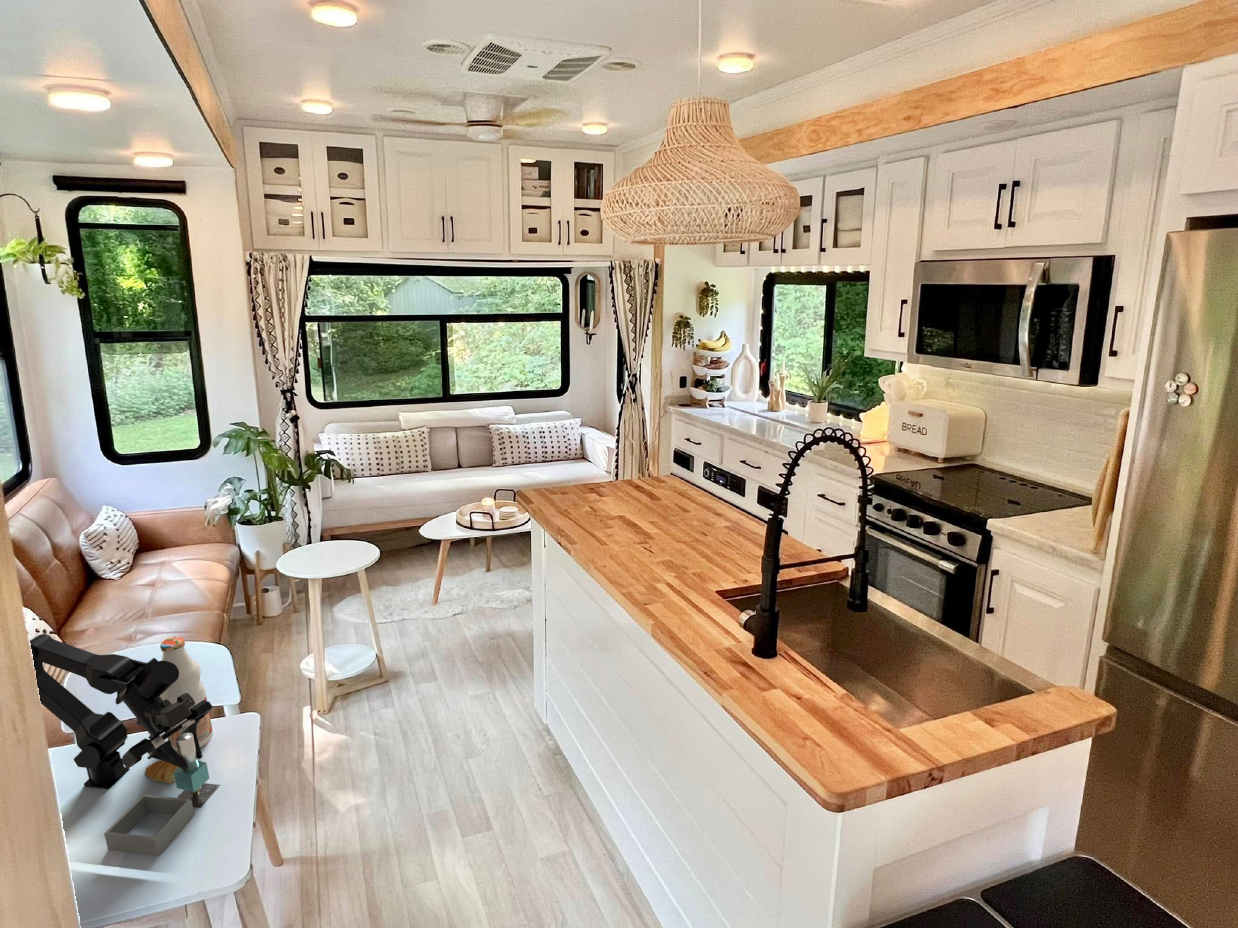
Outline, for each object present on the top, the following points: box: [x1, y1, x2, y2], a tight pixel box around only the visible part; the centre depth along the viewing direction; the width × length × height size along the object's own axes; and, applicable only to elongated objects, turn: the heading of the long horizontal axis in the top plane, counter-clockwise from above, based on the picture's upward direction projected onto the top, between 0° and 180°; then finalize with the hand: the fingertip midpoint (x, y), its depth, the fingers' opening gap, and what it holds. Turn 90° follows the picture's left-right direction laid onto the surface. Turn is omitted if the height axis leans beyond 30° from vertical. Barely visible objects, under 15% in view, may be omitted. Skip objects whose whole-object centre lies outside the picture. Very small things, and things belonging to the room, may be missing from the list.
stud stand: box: [176, 782, 221, 809], centre depth 169 cm, size 7×7×4 cm
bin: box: [103, 793, 195, 857], centre depth 158 cm, size 11×11×5 cm
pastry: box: [144, 760, 179, 785], centre depth 176 cm, size 9×7×4 cm
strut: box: [174, 733, 210, 792], centre depth 166 cm, size 4×4×12 cm
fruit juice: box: [159, 635, 214, 753], centre depth 182 cm, size 9×9×28 cm
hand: (193, 763), depth 166 cm, fingers closed on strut, 3 cm apart
